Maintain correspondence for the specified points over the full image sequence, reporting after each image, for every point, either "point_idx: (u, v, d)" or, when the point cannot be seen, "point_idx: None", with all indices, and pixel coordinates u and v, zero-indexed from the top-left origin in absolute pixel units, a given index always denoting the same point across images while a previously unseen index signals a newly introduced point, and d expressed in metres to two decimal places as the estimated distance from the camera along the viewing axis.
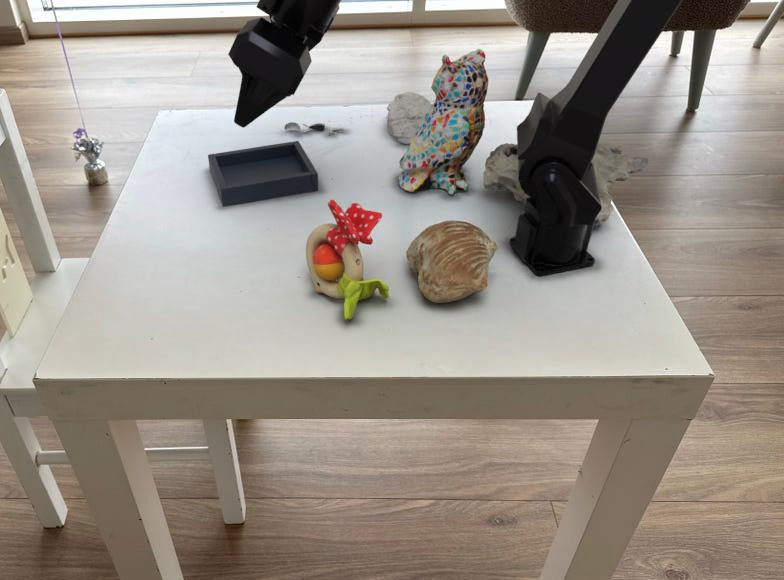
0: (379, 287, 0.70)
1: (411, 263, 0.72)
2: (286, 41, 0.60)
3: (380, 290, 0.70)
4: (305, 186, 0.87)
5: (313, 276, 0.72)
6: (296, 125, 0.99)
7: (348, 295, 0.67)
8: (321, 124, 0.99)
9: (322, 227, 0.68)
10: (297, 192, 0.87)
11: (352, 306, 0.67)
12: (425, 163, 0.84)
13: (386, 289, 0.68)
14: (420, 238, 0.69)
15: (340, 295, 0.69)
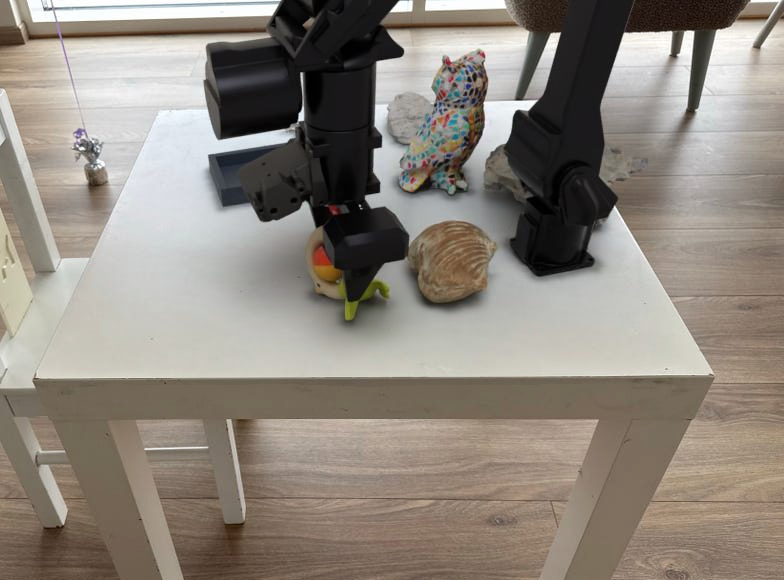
0: (379, 288, 0.70)
1: (411, 263, 0.72)
2: (371, 218, 0.58)
3: (380, 291, 0.70)
4: None
5: (313, 277, 0.72)
6: (296, 125, 1.00)
7: None
8: None
9: (322, 228, 0.68)
10: None
11: (353, 307, 0.67)
12: (425, 163, 0.84)
13: (387, 290, 0.68)
14: (420, 238, 0.69)
15: (341, 296, 0.69)
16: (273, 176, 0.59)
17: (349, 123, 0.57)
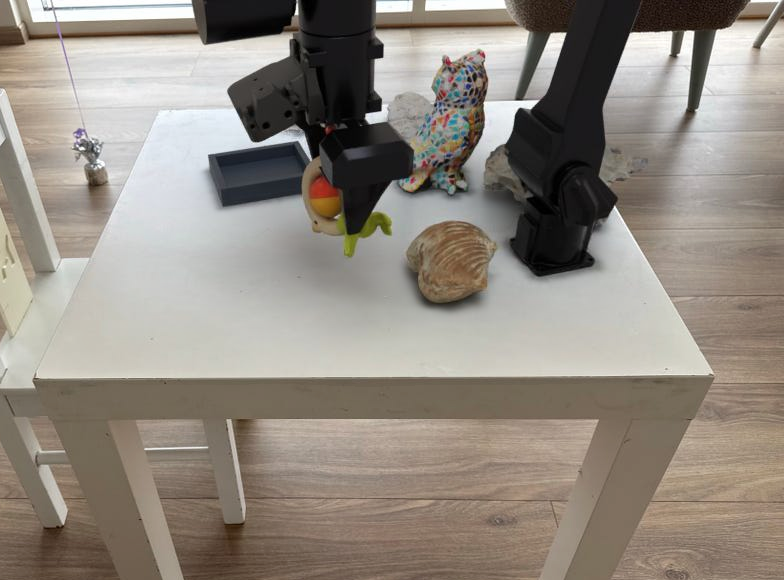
0: (381, 223, 0.65)
1: (411, 263, 0.72)
2: (372, 133, 0.53)
3: (382, 227, 0.65)
4: None
5: (310, 214, 0.67)
6: (296, 125, 1.00)
7: None
8: None
9: (319, 158, 0.63)
10: (297, 192, 0.87)
11: (353, 241, 0.63)
12: (425, 163, 0.84)
13: (389, 223, 0.63)
14: (420, 238, 0.69)
15: (339, 232, 0.65)
16: (265, 90, 0.55)
17: (347, 27, 0.52)
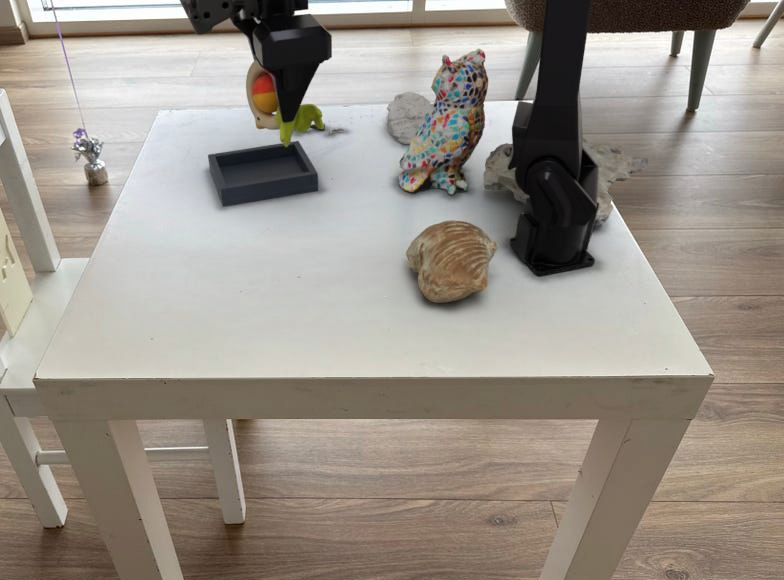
0: (314, 118, 0.75)
1: (411, 263, 0.72)
2: (296, 21, 0.63)
3: (315, 121, 0.75)
4: (305, 186, 0.87)
5: (253, 112, 0.77)
6: None
7: None
8: None
9: None
10: (297, 192, 0.87)
11: (288, 129, 0.72)
12: (425, 163, 0.84)
13: (319, 114, 0.73)
14: (420, 238, 0.69)
15: (277, 124, 0.74)
16: None
17: None
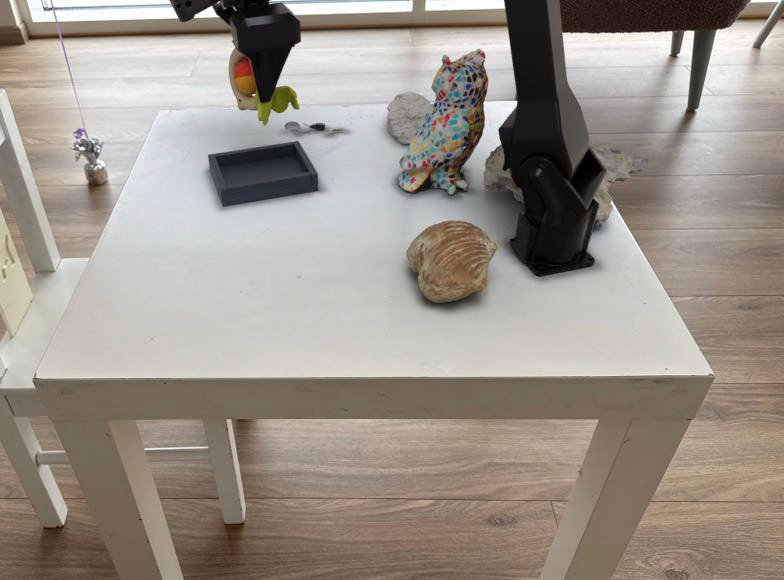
0: (290, 99, 0.82)
1: (411, 263, 0.72)
2: (269, 9, 0.70)
3: (291, 102, 0.82)
4: (305, 186, 0.87)
5: (235, 94, 0.84)
6: (296, 124, 1.00)
7: None
8: (321, 123, 0.99)
9: None
10: (297, 192, 0.87)
11: (265, 109, 0.79)
12: (425, 163, 0.84)
13: (294, 95, 0.79)
14: (420, 238, 0.69)
15: (256, 105, 0.81)
16: None
17: None
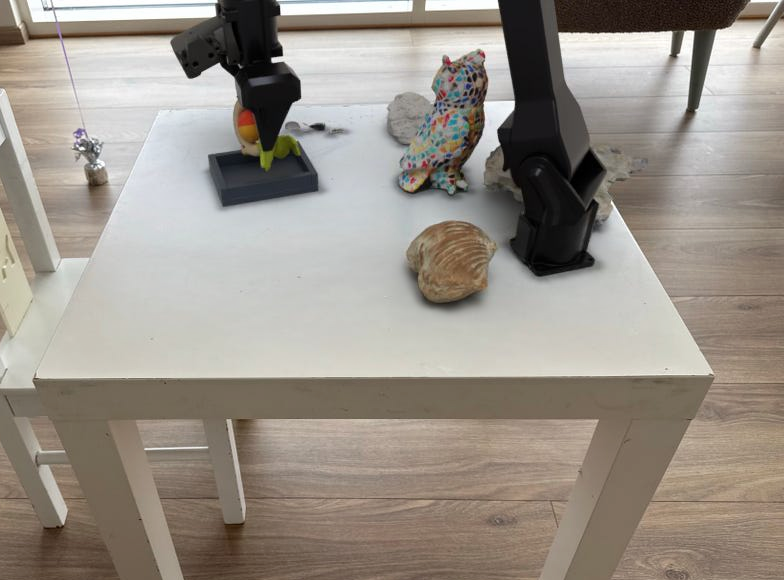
0: (291, 146, 0.86)
1: (411, 263, 0.72)
2: (271, 68, 0.74)
3: (292, 148, 0.86)
4: (305, 186, 0.87)
5: (239, 140, 0.88)
6: (296, 124, 1.00)
7: None
8: (321, 123, 0.99)
9: None
10: (297, 192, 0.87)
11: (267, 157, 0.84)
12: (425, 163, 0.84)
13: (295, 143, 0.84)
14: (420, 238, 0.69)
15: (259, 151, 0.86)
16: None
17: None
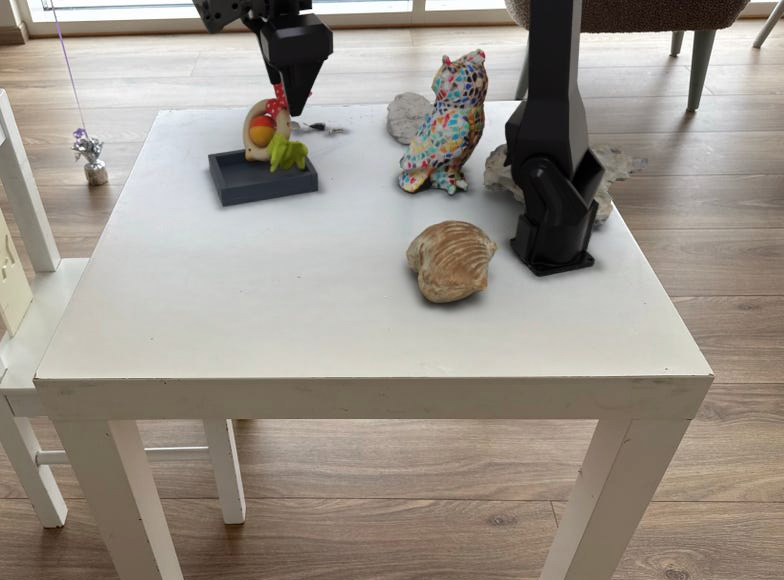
0: (298, 158, 0.88)
1: (411, 263, 0.72)
2: (300, 19, 0.68)
3: (298, 161, 0.88)
4: (305, 186, 0.87)
5: (246, 144, 0.89)
6: (296, 124, 1.00)
7: (278, 143, 0.84)
8: (321, 123, 0.99)
9: (263, 100, 0.87)
10: (297, 192, 0.87)
11: (278, 155, 0.85)
12: (425, 163, 0.84)
13: (306, 151, 0.86)
14: (420, 238, 0.69)
15: (268, 153, 0.87)
16: None
17: None
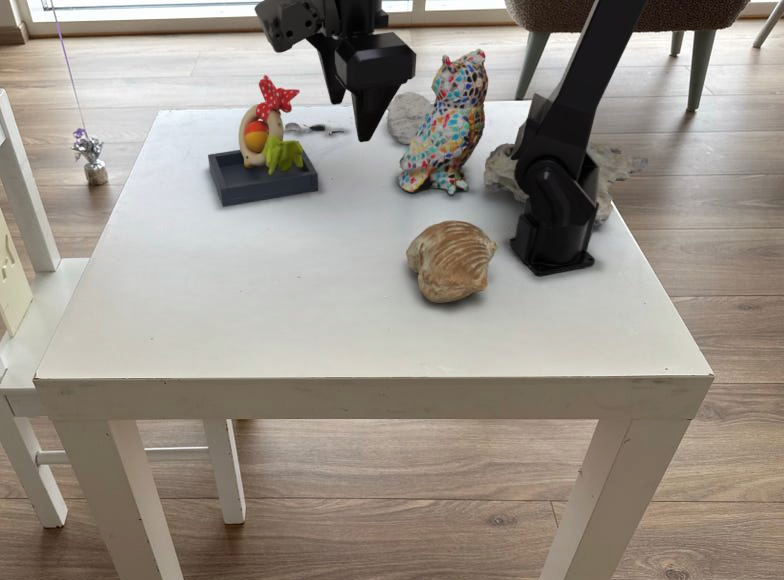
0: (295, 157, 0.88)
1: (411, 263, 0.72)
2: (381, 39, 0.62)
3: (296, 160, 0.88)
4: (305, 186, 0.87)
5: (243, 152, 0.90)
6: (297, 125, 1.00)
7: (271, 145, 0.84)
8: (321, 125, 1.00)
9: (253, 106, 0.88)
10: (297, 192, 0.87)
11: (273, 157, 0.85)
12: (425, 163, 0.84)
13: (300, 149, 0.86)
14: (420, 238, 0.69)
15: (264, 157, 0.87)
16: None
17: None
